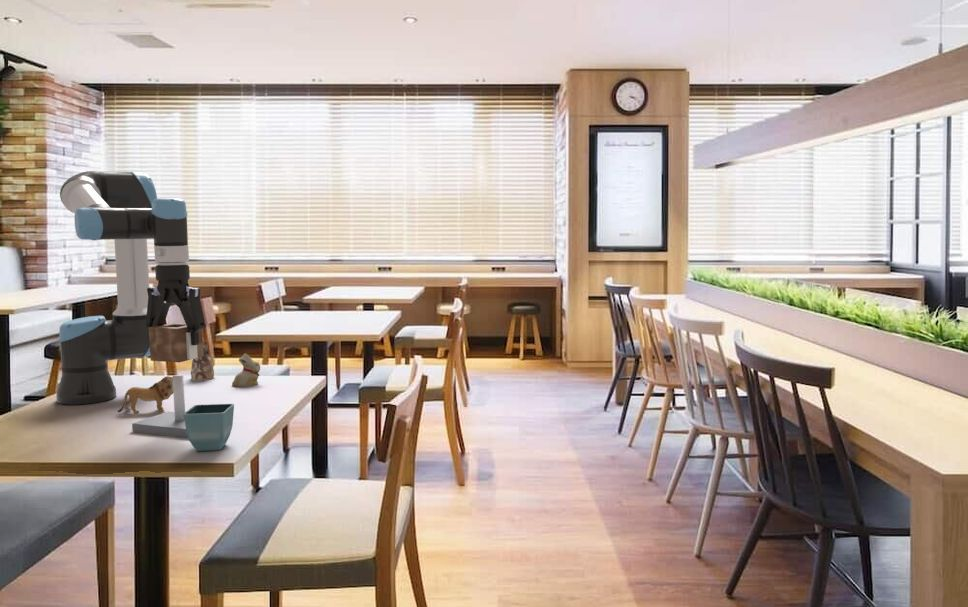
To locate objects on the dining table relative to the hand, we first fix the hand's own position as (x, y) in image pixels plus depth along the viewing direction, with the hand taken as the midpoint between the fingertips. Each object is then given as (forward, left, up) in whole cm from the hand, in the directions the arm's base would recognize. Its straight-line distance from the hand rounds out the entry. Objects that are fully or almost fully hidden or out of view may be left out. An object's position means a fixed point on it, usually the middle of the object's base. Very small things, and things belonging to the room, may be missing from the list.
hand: (177, 357), depth 178 cm
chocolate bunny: (-16, +47, -18) cm, 53 cm away
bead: (0, 0, 0) cm, 0 cm away
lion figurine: (-20, +12, -18) cm, 29 cm away
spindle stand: (0, 0, -17) cm, 17 cm away
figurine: (-36, +51, -18) cm, 65 cm away
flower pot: (+18, -11, -18) cm, 27 cm away
